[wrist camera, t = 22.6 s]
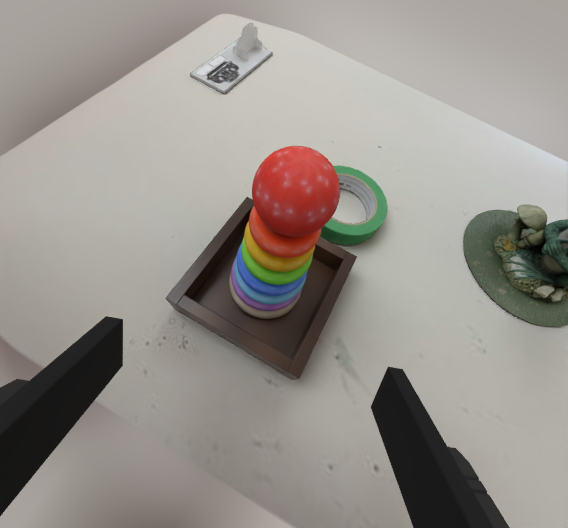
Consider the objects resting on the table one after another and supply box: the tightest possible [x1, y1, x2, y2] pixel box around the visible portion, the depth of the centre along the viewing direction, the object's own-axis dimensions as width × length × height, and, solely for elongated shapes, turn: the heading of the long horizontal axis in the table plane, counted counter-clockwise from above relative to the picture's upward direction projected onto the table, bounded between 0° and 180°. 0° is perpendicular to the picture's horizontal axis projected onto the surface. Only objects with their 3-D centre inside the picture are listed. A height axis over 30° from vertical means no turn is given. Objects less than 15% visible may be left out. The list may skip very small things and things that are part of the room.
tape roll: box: [320, 166, 387, 245], centre depth 36 cm, size 11×11×3 cm
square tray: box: [166, 197, 357, 379], centre depth 29 cm, size 14×14×4 cm
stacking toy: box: [229, 146, 340, 319], centre depth 22 cm, size 8×8×19 cm
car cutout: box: [190, 23, 273, 94], centre depth 45 cm, size 15×7×4 cm, turn 150°
